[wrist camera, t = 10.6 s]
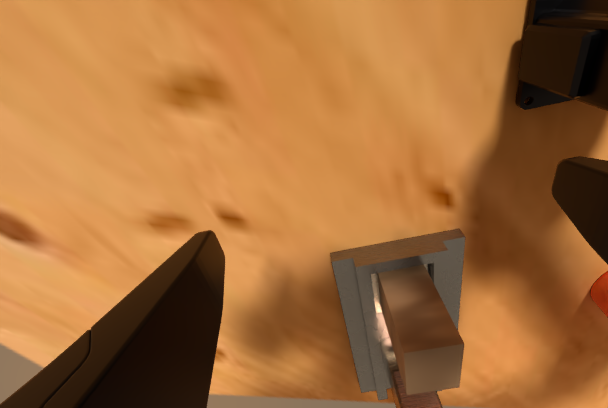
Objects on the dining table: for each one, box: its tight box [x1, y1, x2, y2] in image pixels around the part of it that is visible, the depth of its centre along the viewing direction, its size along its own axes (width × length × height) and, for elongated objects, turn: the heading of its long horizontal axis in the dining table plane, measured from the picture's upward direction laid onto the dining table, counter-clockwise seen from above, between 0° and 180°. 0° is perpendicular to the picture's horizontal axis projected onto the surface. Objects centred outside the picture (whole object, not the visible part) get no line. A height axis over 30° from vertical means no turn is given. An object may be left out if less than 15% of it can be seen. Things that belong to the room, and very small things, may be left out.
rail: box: [330, 229, 465, 408], centre depth 27 cm, size 10×20×8 cm, turn 12°
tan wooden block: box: [377, 265, 464, 395], centre depth 23 cm, size 4×6×7 cm, turn 12°
